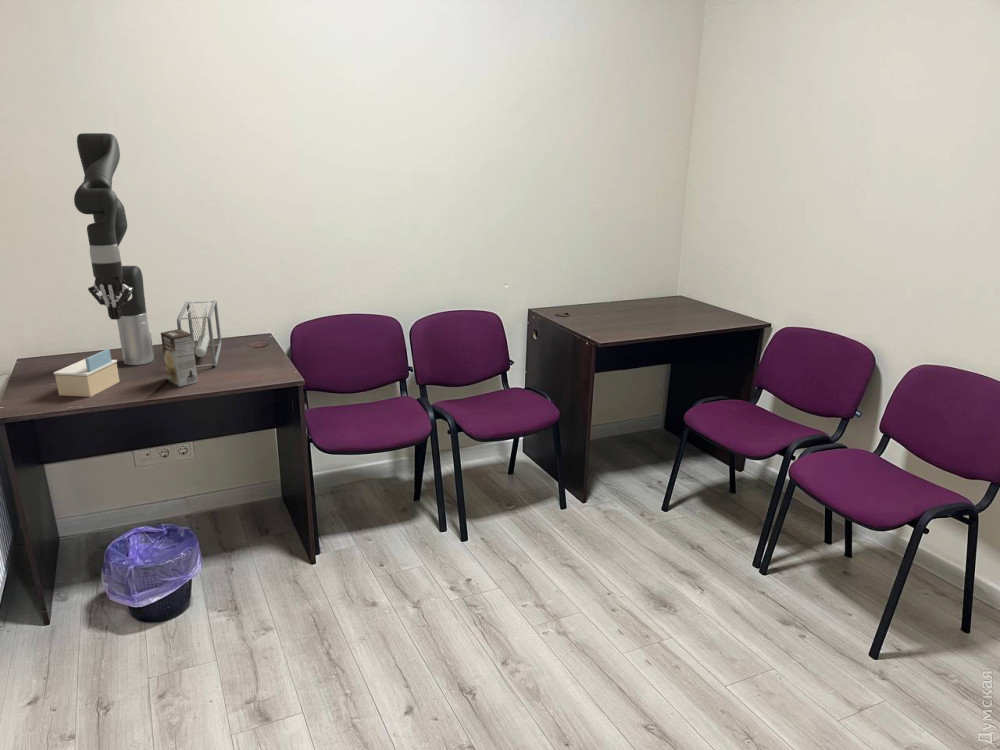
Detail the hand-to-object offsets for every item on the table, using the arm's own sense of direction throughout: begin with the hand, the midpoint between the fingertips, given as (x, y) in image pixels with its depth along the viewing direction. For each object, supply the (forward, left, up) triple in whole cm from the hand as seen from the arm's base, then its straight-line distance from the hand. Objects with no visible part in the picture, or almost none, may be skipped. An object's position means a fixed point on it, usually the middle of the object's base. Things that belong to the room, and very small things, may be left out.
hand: (115, 318), depth 207 cm
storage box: (0, -12, -23) cm, 26 cm away
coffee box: (-12, +11, -23) cm, 28 cm away
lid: (0, -12, -16) cm, 20 cm away
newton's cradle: (-39, +4, -23) cm, 46 cm away
